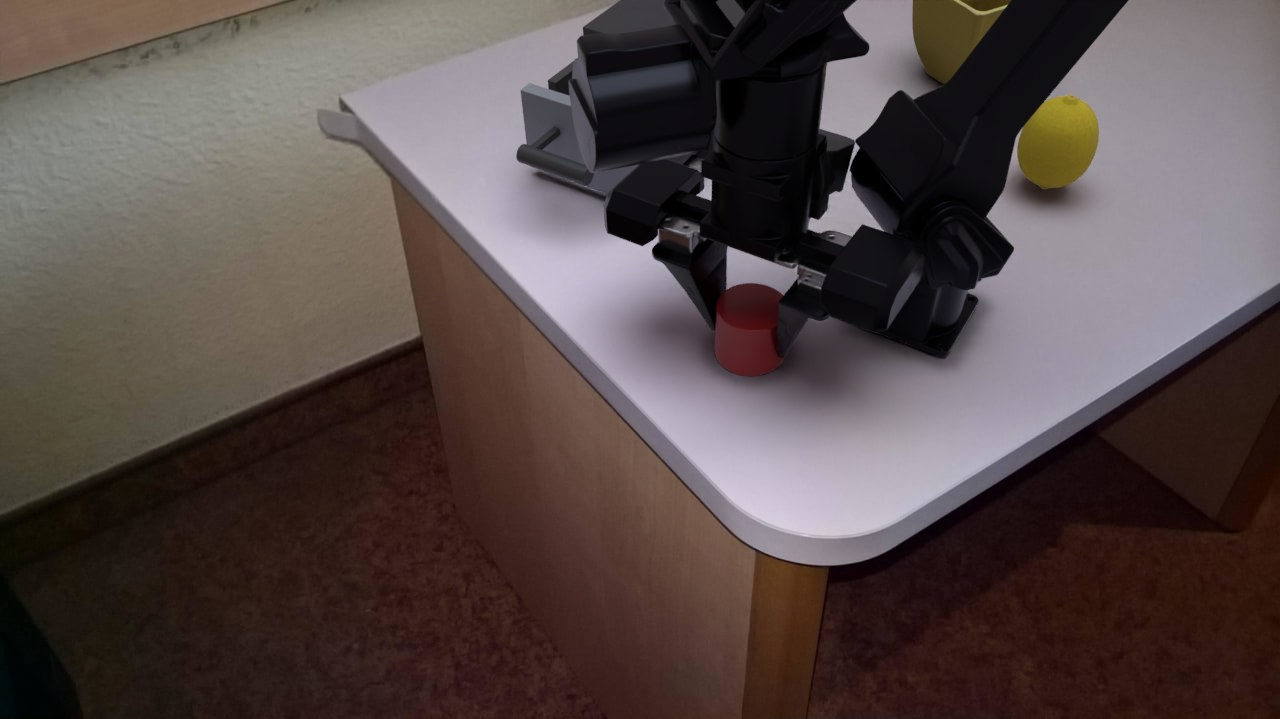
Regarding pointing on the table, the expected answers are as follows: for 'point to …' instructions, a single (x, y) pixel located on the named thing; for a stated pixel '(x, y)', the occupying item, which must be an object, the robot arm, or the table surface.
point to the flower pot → (951, 31)
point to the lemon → (1058, 142)
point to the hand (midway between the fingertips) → (750, 340)
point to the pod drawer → (560, 136)
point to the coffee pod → (747, 329)
